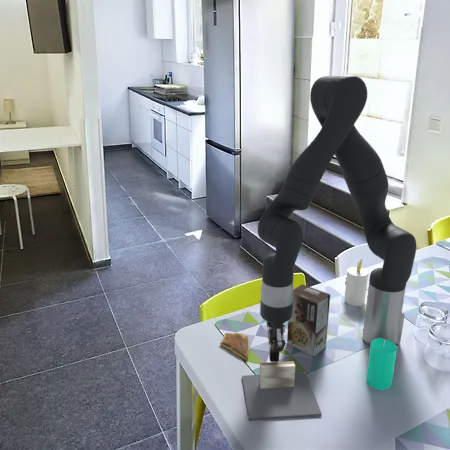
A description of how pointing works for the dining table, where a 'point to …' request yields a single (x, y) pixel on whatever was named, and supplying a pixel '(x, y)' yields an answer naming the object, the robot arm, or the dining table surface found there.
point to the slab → (277, 374)
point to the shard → (236, 344)
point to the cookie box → (309, 320)
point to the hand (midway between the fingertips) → (274, 359)
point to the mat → (280, 399)
